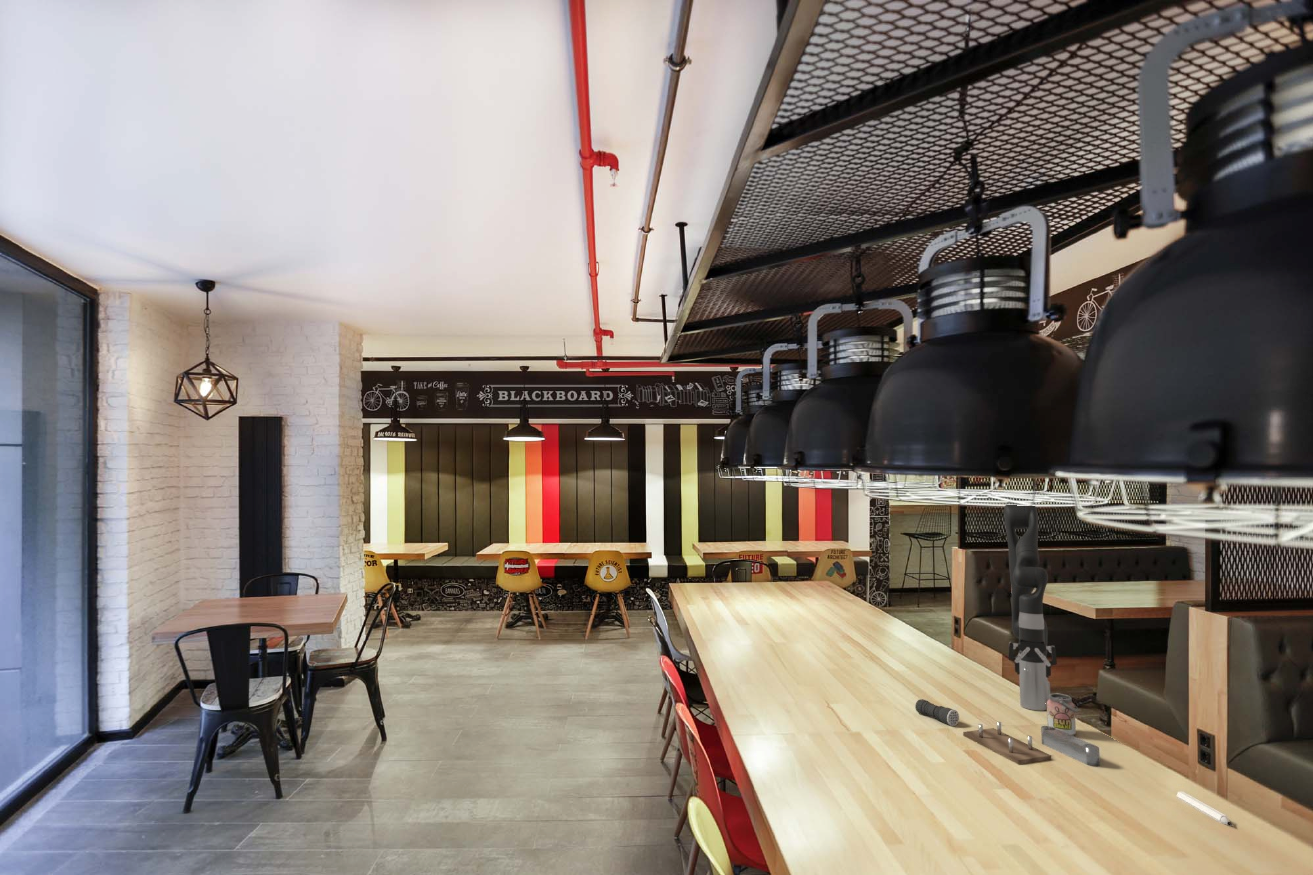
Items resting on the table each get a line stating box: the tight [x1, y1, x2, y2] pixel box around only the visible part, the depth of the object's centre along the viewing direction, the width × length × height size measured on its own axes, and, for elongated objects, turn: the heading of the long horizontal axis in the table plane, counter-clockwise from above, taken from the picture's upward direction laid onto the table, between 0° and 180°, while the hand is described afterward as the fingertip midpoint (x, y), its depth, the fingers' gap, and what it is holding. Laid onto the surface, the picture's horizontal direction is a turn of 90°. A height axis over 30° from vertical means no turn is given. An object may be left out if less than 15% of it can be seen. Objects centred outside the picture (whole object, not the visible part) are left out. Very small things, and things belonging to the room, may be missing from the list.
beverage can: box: [1046, 692, 1080, 737], centre depth 232 cm, size 9×8×12 cm
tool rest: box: [962, 721, 1052, 765], centre depth 221 cm, size 12×24×5 cm, turn 15°
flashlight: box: [914, 699, 960, 727], centre depth 247 cm, size 15×5×5 cm, turn 26°
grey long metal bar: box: [1040, 725, 1101, 768], centre depth 215 cm, size 4×20×5 cm, turn 15°
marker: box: [1176, 790, 1234, 827], centre depth 177 cm, size 3×2×16 cm
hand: (1032, 675), depth 234 cm, fingers open, 8 cm apart
